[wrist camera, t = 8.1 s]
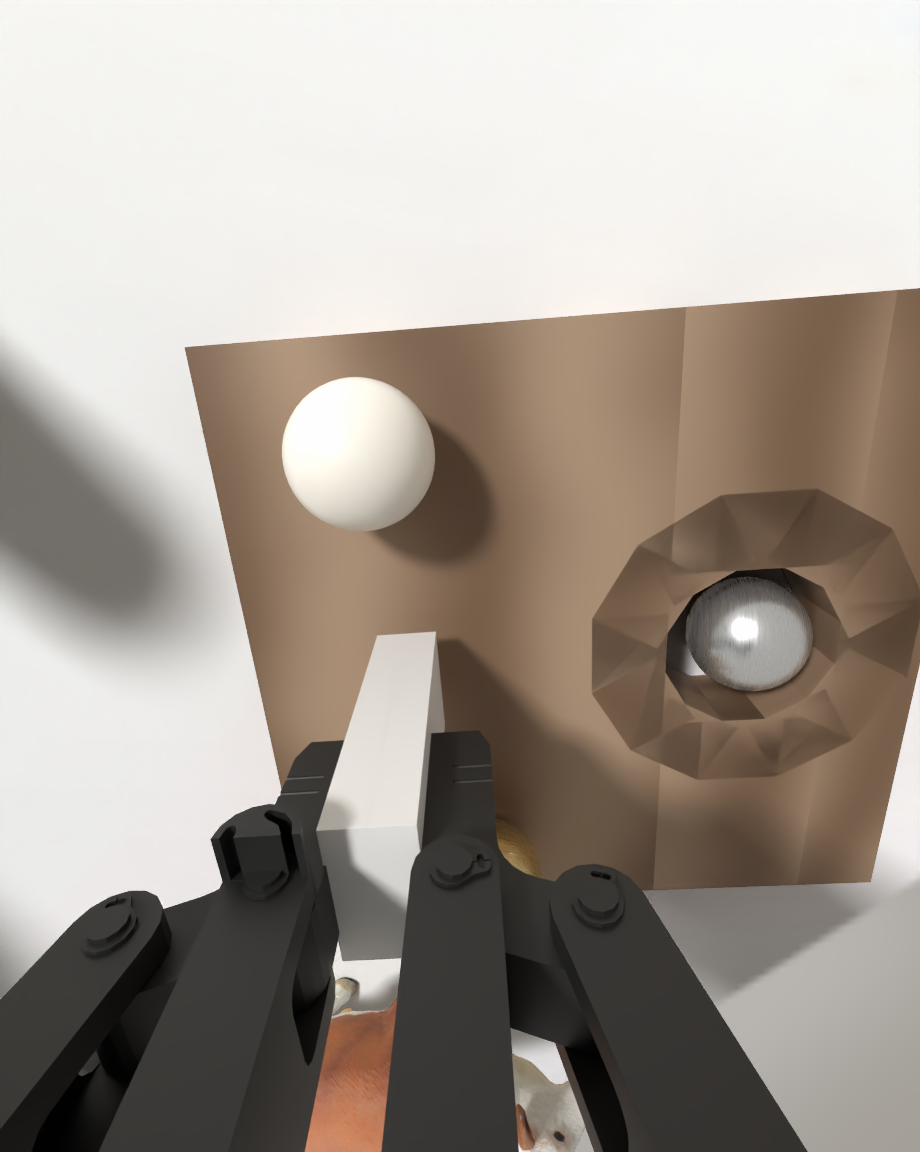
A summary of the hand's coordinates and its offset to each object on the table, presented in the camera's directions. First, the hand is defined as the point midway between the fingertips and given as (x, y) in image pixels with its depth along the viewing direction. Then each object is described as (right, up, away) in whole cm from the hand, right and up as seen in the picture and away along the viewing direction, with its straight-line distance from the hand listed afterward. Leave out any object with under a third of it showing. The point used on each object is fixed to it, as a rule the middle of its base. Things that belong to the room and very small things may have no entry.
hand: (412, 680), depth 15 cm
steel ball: (+9, +1, +1) cm, 9 cm away
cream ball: (-1, +5, -3) cm, 6 cm away
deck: (+5, +1, +3) cm, 6 cm away
